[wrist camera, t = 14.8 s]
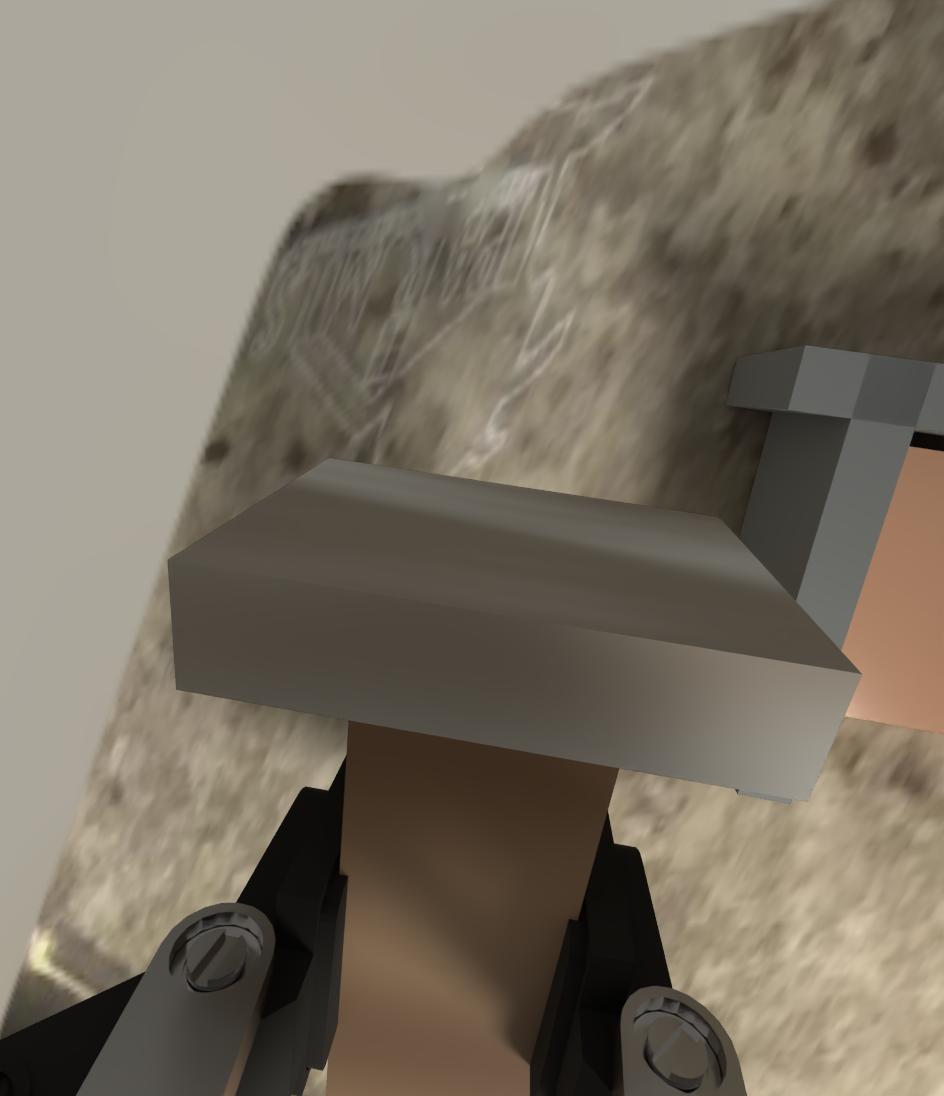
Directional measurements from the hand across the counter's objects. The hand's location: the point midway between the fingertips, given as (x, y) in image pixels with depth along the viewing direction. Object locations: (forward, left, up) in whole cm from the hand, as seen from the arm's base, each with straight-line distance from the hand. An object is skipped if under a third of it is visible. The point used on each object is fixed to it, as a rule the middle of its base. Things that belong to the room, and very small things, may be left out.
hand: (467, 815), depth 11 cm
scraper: (0, +2, -2) cm, 3 cm away
